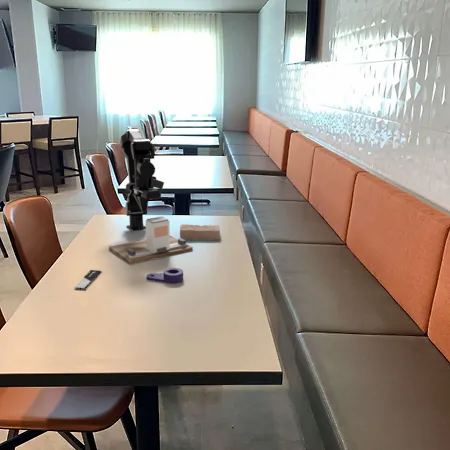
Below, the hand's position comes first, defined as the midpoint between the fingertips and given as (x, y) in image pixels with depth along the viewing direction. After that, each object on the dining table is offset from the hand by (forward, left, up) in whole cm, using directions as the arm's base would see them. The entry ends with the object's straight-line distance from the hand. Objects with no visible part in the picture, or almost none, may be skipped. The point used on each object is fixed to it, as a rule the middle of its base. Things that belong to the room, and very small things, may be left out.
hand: (143, 211), depth 185 cm
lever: (+38, -12, -12) cm, 42 cm away
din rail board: (+11, -3, -12) cm, 17 cm away
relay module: (+17, -3, -10) cm, 20 cm away
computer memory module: (+25, -33, -13) cm, 43 cm away
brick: (+8, +21, -13) cm, 26 cm away
